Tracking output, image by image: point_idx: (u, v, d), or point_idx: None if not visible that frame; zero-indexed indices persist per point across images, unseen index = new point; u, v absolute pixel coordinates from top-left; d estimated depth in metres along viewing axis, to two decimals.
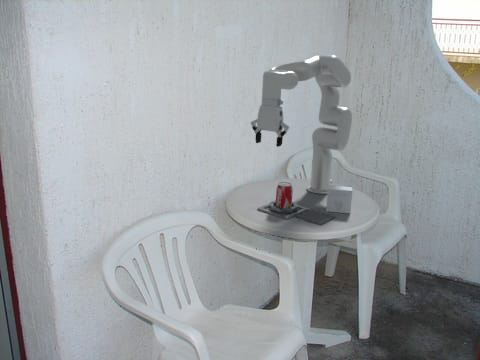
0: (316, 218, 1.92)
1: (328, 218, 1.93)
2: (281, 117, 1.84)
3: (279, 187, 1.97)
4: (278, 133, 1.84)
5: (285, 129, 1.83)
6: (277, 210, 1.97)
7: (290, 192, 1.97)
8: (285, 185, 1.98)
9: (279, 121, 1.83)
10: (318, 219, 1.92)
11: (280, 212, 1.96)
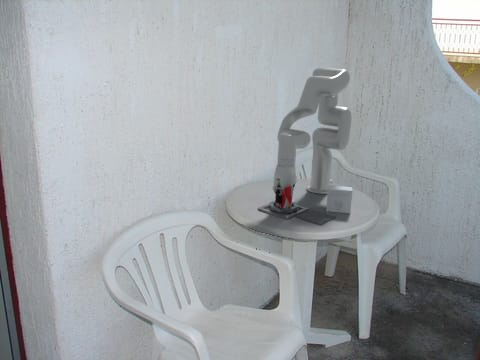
0: (316, 218, 1.92)
1: (328, 218, 1.93)
2: None
3: None
4: None
5: (294, 182, 2.04)
6: (277, 210, 1.97)
7: (290, 192, 1.97)
8: None
9: None
10: (318, 219, 1.92)
11: (280, 212, 1.96)
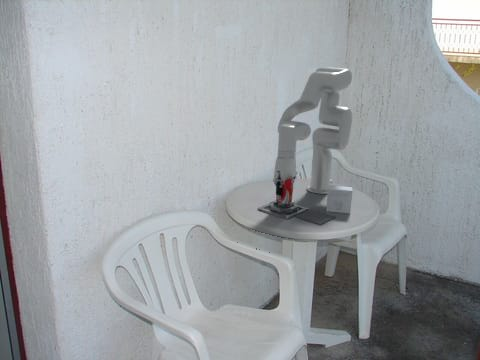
0: (316, 218, 1.92)
1: (328, 218, 1.93)
2: None
3: None
4: None
5: (295, 174, 2.02)
6: (277, 210, 1.97)
7: (291, 184, 1.96)
8: None
9: None
10: (318, 219, 1.92)
11: (280, 212, 1.96)
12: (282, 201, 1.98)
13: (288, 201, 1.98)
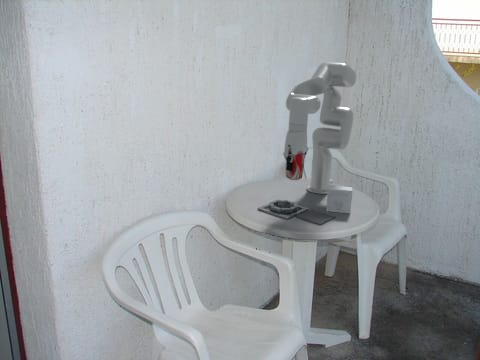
0: (316, 218, 1.92)
1: (328, 218, 1.93)
2: None
3: None
4: None
5: (306, 150, 1.97)
6: (277, 210, 1.97)
7: (301, 159, 1.91)
8: None
9: None
10: (318, 219, 1.92)
11: (280, 212, 1.96)
12: (292, 177, 1.92)
13: (298, 177, 1.93)
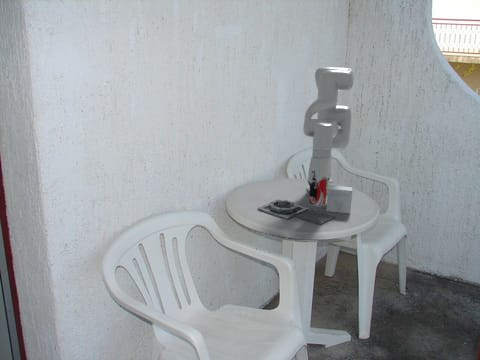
0: (316, 218, 1.92)
1: (328, 218, 1.93)
2: None
3: None
4: None
5: (329, 175, 1.94)
6: (277, 210, 1.97)
7: (325, 185, 1.88)
8: None
9: None
10: (318, 219, 1.92)
11: (280, 212, 1.96)
12: (316, 203, 1.90)
13: (322, 203, 1.90)
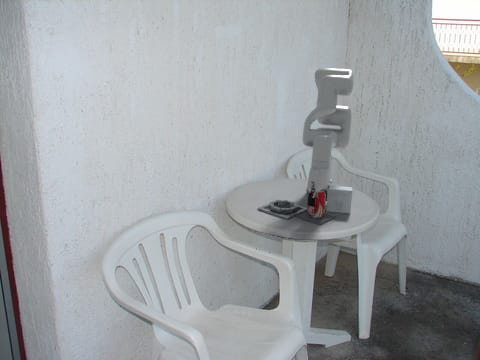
0: (316, 218, 1.92)
1: (328, 218, 1.93)
2: None
3: (312, 192, 1.90)
4: (327, 189, 1.94)
5: (329, 183, 1.96)
6: (277, 210, 1.97)
7: (324, 198, 1.90)
8: None
9: None
10: (318, 219, 1.92)
11: (280, 212, 1.96)
12: (315, 215, 1.91)
13: (321, 215, 1.92)
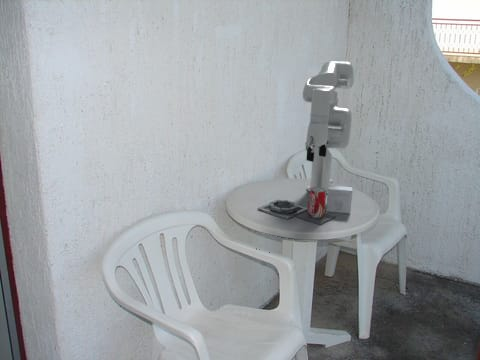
0: (316, 218, 1.92)
1: (328, 218, 1.93)
2: None
3: (312, 192, 1.90)
4: (326, 144, 1.96)
5: (328, 138, 1.98)
6: (277, 210, 1.97)
7: (324, 198, 1.90)
8: (318, 190, 1.90)
9: None
10: (318, 219, 1.92)
11: (280, 212, 1.96)
12: (315, 215, 1.91)
13: (321, 215, 1.92)
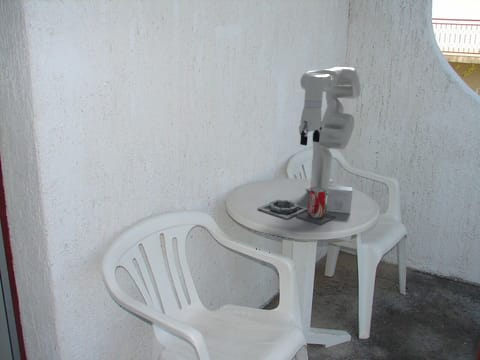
0: (316, 218, 1.92)
1: (328, 218, 1.93)
2: None
3: (312, 192, 1.90)
4: (319, 130, 2.04)
5: (321, 125, 2.06)
6: (277, 210, 1.97)
7: (324, 198, 1.90)
8: (318, 190, 1.90)
9: None
10: (318, 219, 1.92)
11: (280, 212, 1.96)
12: (315, 215, 1.91)
13: (321, 215, 1.92)
